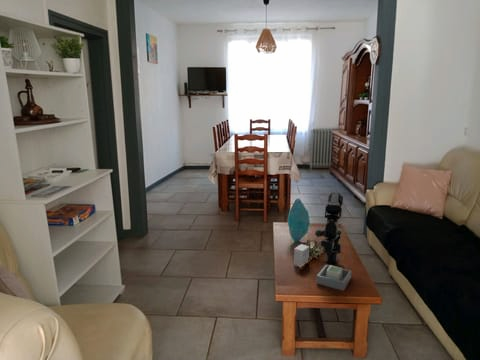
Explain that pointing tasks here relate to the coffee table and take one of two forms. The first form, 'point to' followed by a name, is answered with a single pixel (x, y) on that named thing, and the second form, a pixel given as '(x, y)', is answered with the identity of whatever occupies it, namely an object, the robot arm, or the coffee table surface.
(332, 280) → the grey crate
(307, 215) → the teal pointed ovoid
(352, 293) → the coffee table surface
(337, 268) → the sage crate
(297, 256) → the small box
